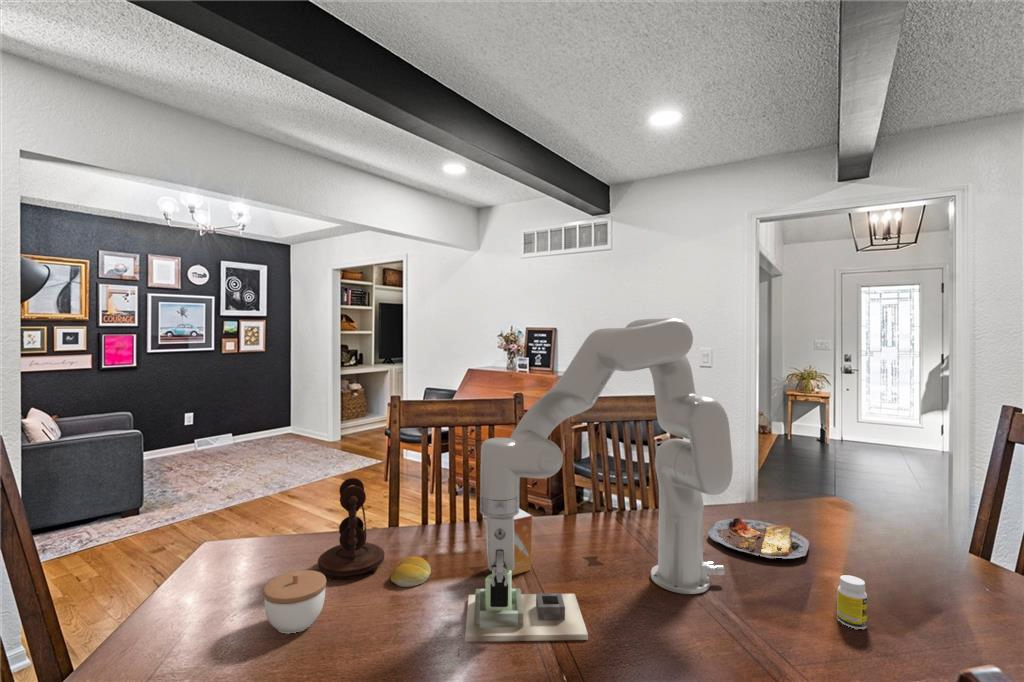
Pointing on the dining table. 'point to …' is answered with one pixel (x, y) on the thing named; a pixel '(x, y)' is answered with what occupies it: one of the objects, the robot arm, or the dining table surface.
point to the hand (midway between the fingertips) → (498, 592)
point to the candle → (487, 593)
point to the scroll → (351, 538)
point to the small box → (522, 542)
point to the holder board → (526, 618)
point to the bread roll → (411, 572)
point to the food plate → (773, 537)
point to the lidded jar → (294, 600)
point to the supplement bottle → (852, 602)
